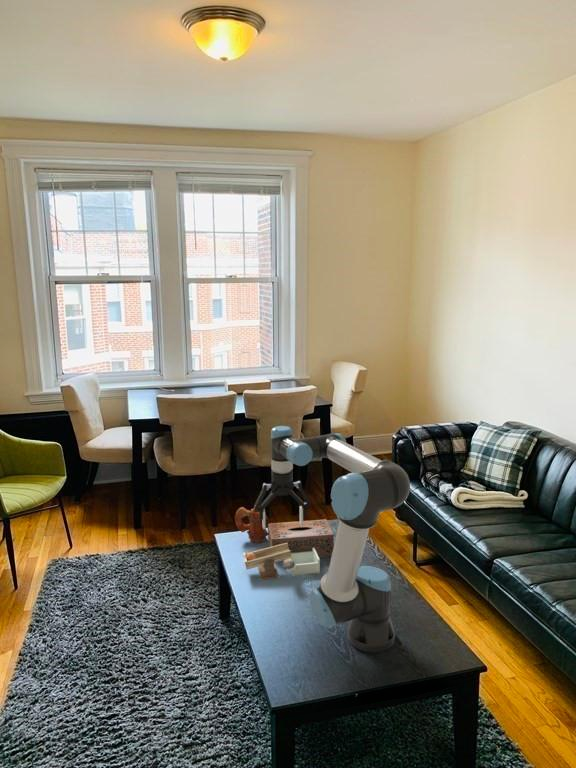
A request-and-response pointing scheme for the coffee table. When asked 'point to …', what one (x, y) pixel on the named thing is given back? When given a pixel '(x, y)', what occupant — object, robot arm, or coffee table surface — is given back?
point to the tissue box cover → (303, 536)
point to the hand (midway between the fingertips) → (282, 526)
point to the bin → (306, 563)
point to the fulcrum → (268, 570)
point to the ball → (250, 556)
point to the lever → (271, 557)
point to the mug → (251, 524)
